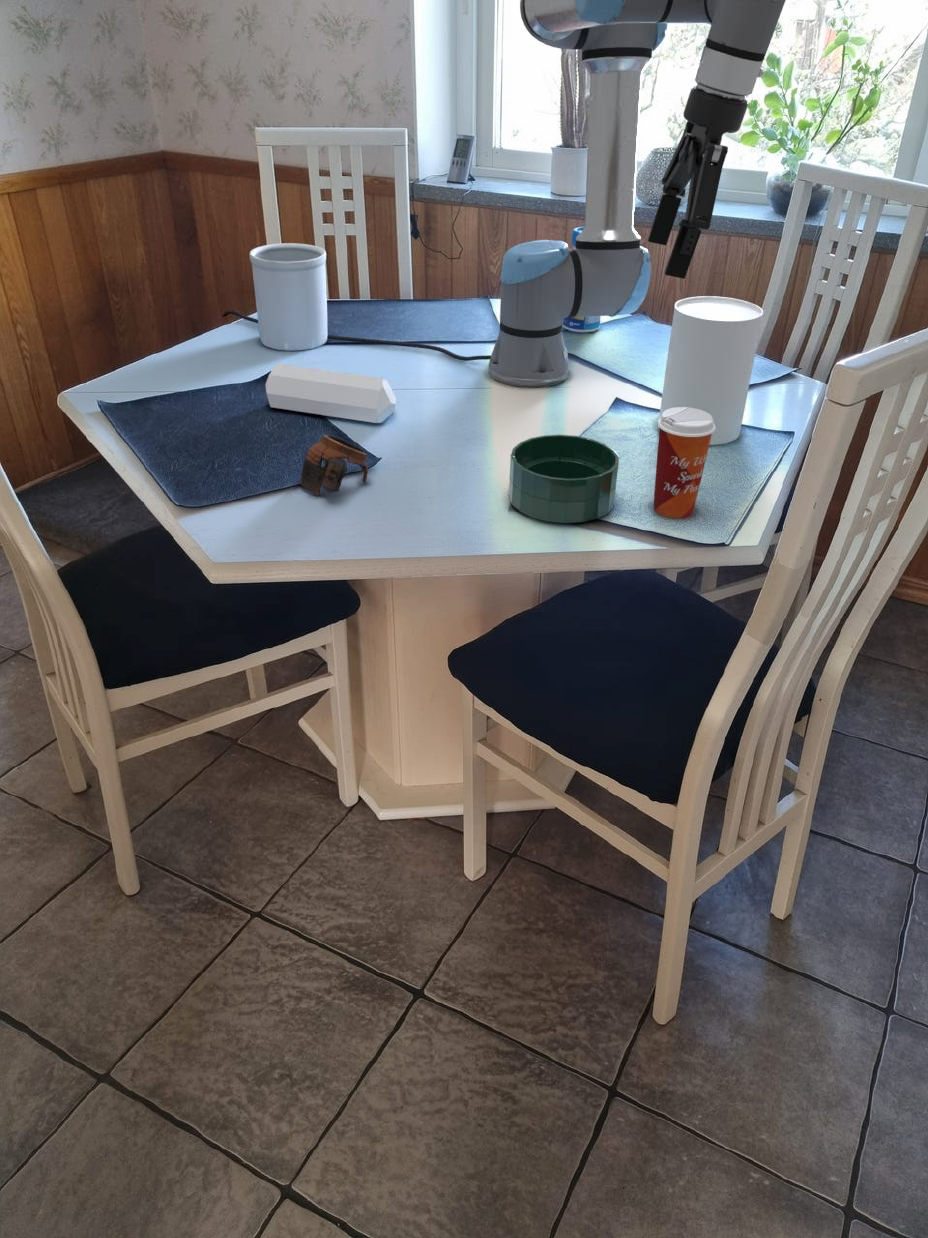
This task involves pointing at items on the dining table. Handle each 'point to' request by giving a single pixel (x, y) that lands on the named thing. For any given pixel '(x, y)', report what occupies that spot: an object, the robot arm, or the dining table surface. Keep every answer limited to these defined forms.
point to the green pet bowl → (563, 478)
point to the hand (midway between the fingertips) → (665, 258)
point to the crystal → (330, 393)
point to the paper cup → (681, 459)
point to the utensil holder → (290, 295)
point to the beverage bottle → (581, 322)
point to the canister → (712, 360)
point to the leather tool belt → (330, 464)
